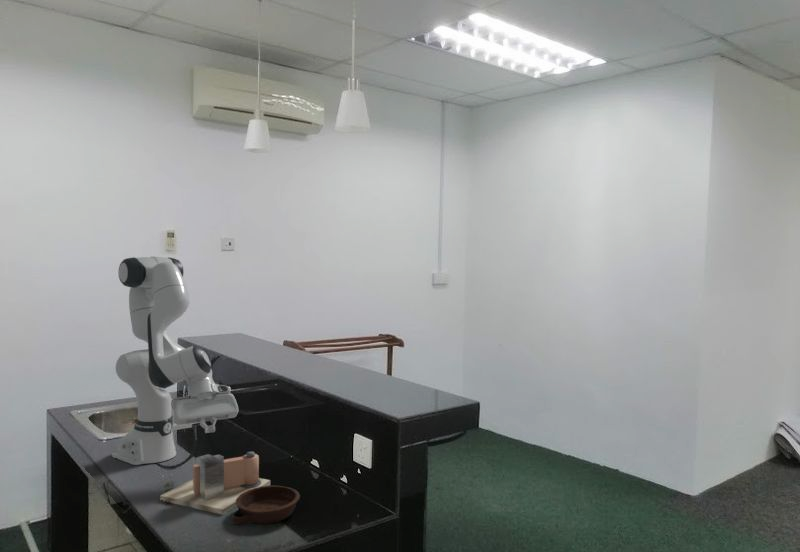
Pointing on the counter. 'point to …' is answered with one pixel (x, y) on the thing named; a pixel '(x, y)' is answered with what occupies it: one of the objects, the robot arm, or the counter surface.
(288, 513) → the dish
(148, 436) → the robot arm
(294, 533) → the counter surface
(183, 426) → the hinge
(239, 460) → the link
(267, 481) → the base board
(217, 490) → the block
